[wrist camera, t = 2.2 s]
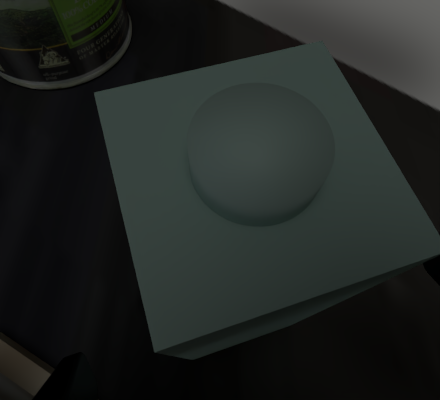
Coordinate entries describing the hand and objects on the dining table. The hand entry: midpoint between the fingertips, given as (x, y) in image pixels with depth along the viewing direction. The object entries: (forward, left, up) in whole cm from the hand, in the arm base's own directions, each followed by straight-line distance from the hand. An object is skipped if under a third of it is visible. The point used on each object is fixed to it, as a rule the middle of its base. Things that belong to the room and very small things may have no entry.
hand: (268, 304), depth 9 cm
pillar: (+2, -1, -10) cm, 10 cm away
